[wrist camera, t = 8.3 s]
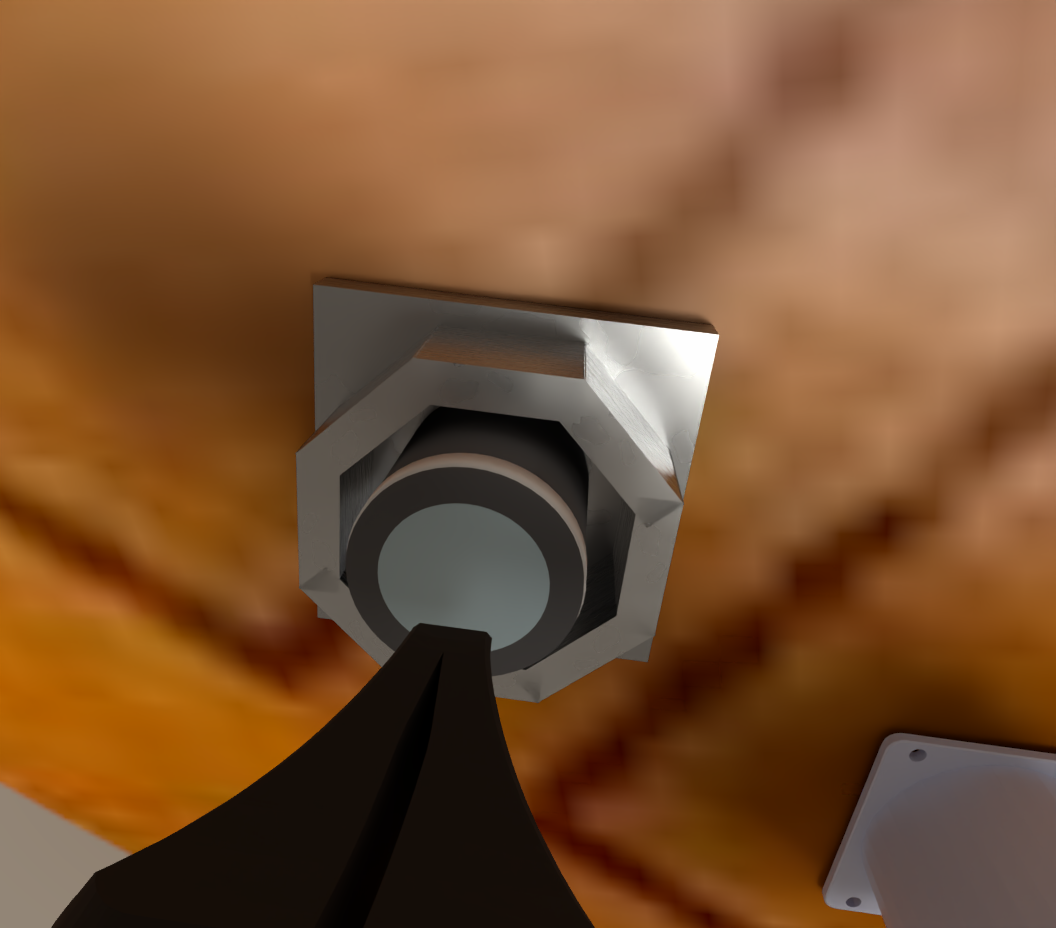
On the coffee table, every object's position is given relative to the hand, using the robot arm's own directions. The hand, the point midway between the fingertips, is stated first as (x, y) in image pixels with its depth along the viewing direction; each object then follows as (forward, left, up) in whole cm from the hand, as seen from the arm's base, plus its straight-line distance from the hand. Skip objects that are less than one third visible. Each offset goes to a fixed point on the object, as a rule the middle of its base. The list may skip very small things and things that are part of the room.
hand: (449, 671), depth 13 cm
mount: (0, 0, -8) cm, 8 cm away
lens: (0, 0, -7) cm, 7 cm away
